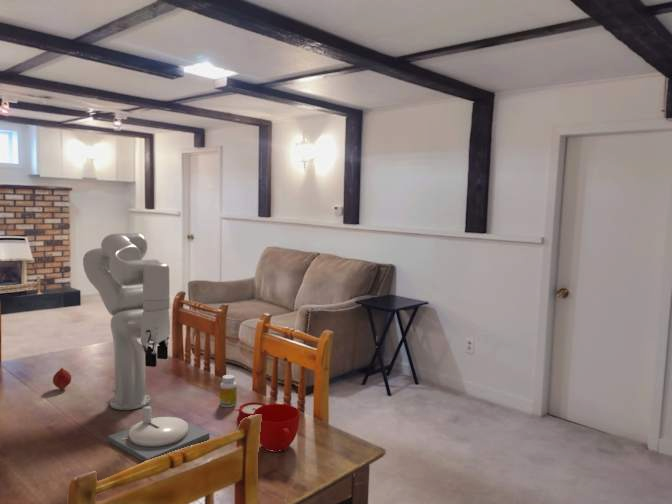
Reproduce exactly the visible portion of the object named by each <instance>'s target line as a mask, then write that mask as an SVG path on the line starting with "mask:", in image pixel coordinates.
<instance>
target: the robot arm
mask: <svg viewBox="0 0 672 504" xmlns="http://www.w3.org/2000/svg"><path fill="white" fill-rule="evenodd" d="M100 244H101V245H100V247H98V248H93V249H90V250H87V251H86V253H85V254H84V255H83V258H82V265H83V266H82V267H83V271H84V273H85V276H86V278H87V279H88V282H90V284H91V285H92V286H93V287H94V288H95V289H96V290H97V292H98V293H99V296H100V298H101V300H102V303H103V304H104V307H105V308H106V311H107V312H108V313H109V315H111V318H110V329H111V334H112V341H113V354H114V355H113V357H114V387H113V388H112V390H111V391H112V393H114V397H113V398H112V399H111V400H110V401H109V406H110V407H111V408H112V409H115V410H119V411H130V410H135V409H136V410H137V409H141V408H143V407H146V406H148V405H149V404H150V402H151V396H150V395H149V394H147V393H146V367H150V368H151V367H152V368H155V367H157V359H158V360H168V358H169V356H168V355H169V354H168V353H169V352H168V351H169V350H168V349H169V348H168V347H169V338H170V333H171V321H170V311H169V310H170V306H171V305H170V301H171V300H170V267H169V265H168V264H167V263H165V262H162V261H161V260H159V259H143V258H144V257H145V255H146V253H147V250H148V243H147V239H146V238H145V236H144V235H143V234H141V233H138V232H137V233H136V232H134V233H133V232H129V233H127V232H126V233H112V234H109V235H107V236H105V237H104V238H103V239H102V240H101V243H100ZM139 285H142V286H141V287H140V286H139ZM131 286H138V287H131ZM138 339H140V342H139V341H138ZM157 344H158V345H157ZM156 352H157V353H156Z"/></svg>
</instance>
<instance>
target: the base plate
mask: <svg viewBox="0 0 672 504" xmlns="http://www.w3.org/2000/svg"><path fill="white" fill-rule="evenodd" d="M161 417H175V418H177V417H176V416H173V415H171V414H169V413H168V414H166V415H162V416H161ZM187 424H188V433H187V435H186V436H185V437H184V438H182V439H181V440H179V441H177V442H175V443H172V444H168V445H163V446H155V447H147V446H140V445H136V444H134V443H132V442H131V441H130V439H129V431H130V429H131V427H129V428H126V429H123V430H122V431H118V432H115V433H112V434H109V435H107V442H109V443H110V444H112V445H114V446H116V447H117V448H119V449H121V450H122V451H124V452H127V453H128V454H130V455H131V456H133V457H135V458H136V459H138V460H139V461H141V462H143V461H146V460H149V459H152V458H155V457H158V456H161V455H164V454H167V453H169V452H172V451H175V450H178V449H181V448H184V447H187V446H189V447H191V446H190V445H192V444H194V445H196V444H198V443H200V442H201V443H202V442H203V441H206V440H208V439H210V432H208V431H206V430H203V428H199V427H197V426H196V425H192V424H190V423H188V422H187ZM192 446H193V445H192ZM187 448H188V447H187Z"/></svg>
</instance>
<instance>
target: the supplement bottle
mask: <svg viewBox="0 0 672 504" xmlns="http://www.w3.org/2000/svg"><path fill="white" fill-rule="evenodd" d="M221 380H222V382H221V383H220V386H219V388H220V391H219V393H220V395H219V397H220V399H219V402H220V406H221V407H222V408H230V407H232V408H233V407H235V406H236V405H237V399H238V398H237V397H238V396H237V395H238V394H237V392H238V391H237V382H236V381H235V375H233V374H225V375H223V376H222V379H221Z"/></svg>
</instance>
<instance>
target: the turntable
mask: <svg viewBox="0 0 672 504" xmlns="http://www.w3.org/2000/svg"><path fill="white" fill-rule="evenodd" d="M175 417H176V416H173V417H162V416H160V417H152V406H151V405H150V406H149V405H146V406H143V407H142V420H141V421H139V422H137V423H135V424H134V425H132V426H131V427H130V428H131V429H130V431H129V439H130V441H131V442H132V443H134V444H136V445H140V446H147V447H155V446H163V445H168V444H172V443H175V442H177V441H179V440H181V439H182V438H184V437H185V436H186V435H187V433H188V424H187V423H188V422H187V421H185V420H183V419H182V418H180V417H176V418H175Z"/></svg>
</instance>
